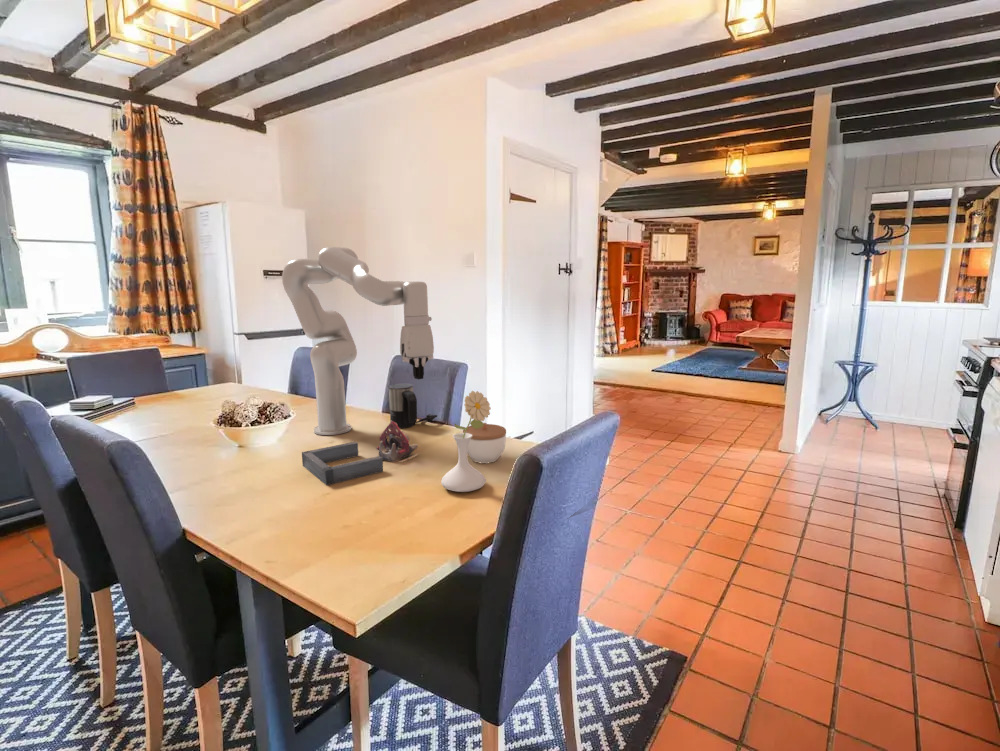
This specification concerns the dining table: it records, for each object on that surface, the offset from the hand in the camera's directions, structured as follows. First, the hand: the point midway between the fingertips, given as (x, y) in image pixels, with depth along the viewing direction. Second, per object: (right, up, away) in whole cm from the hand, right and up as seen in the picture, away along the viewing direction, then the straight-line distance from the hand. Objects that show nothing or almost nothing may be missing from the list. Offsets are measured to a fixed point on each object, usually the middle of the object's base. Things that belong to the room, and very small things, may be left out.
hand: (418, 378), depth 173 cm
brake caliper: (-5, -24, -11) cm, 27 cm away
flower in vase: (+17, -28, -35) cm, 48 cm away
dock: (-18, -25, -20) cm, 37 cm away
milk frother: (-6, -17, +25) cm, 30 cm away
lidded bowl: (+22, -24, -14) cm, 35 cm away
